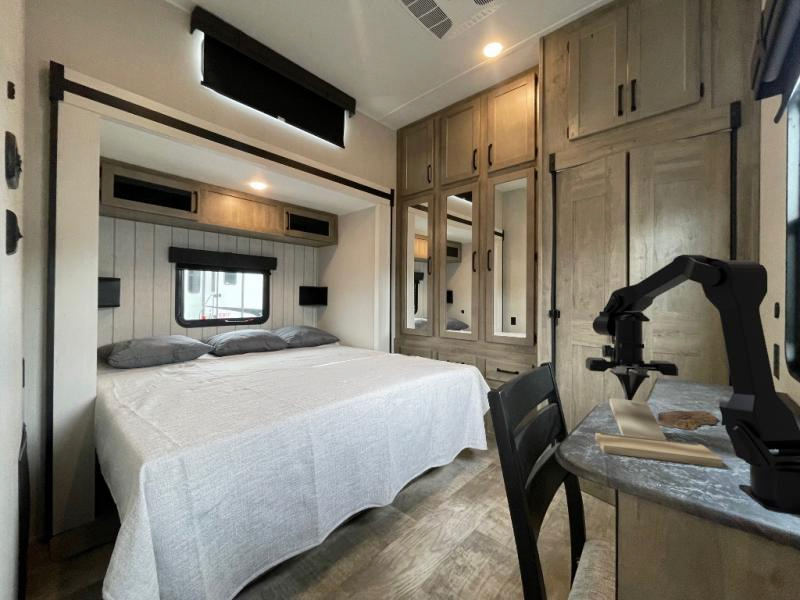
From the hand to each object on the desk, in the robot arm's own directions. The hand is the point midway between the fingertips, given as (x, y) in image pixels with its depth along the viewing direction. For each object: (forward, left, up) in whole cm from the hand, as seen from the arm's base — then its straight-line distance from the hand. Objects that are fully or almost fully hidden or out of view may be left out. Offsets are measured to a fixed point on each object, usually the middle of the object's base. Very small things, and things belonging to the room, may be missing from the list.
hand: (629, 399), depth 83 cm
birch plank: (-4, 0, -4) cm, 6 cm away
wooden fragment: (+13, -17, -8) cm, 23 cm away
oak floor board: (-14, 0, -7) cm, 16 cm away
